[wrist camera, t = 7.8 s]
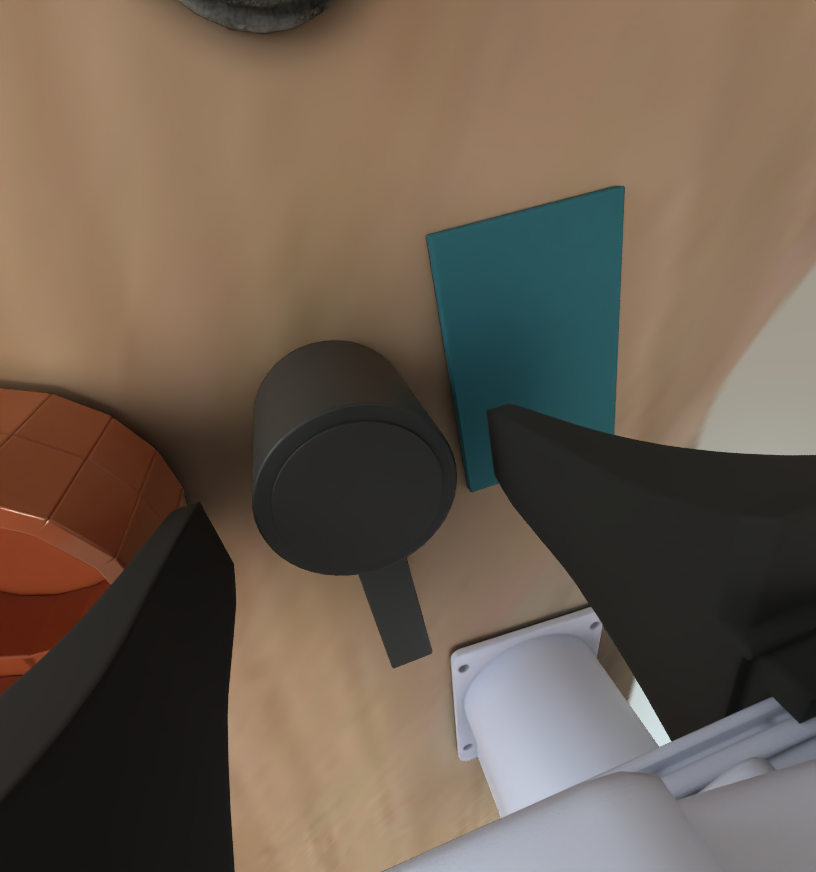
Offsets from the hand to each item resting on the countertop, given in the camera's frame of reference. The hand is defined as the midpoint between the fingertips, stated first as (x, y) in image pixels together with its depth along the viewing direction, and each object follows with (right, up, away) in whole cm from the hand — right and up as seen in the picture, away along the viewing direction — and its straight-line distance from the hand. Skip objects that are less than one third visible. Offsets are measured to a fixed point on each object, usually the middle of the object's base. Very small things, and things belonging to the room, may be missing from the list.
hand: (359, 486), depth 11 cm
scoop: (-1, 0, +5) cm, 5 cm away
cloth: (+5, +4, +4) cm, 8 cm away
